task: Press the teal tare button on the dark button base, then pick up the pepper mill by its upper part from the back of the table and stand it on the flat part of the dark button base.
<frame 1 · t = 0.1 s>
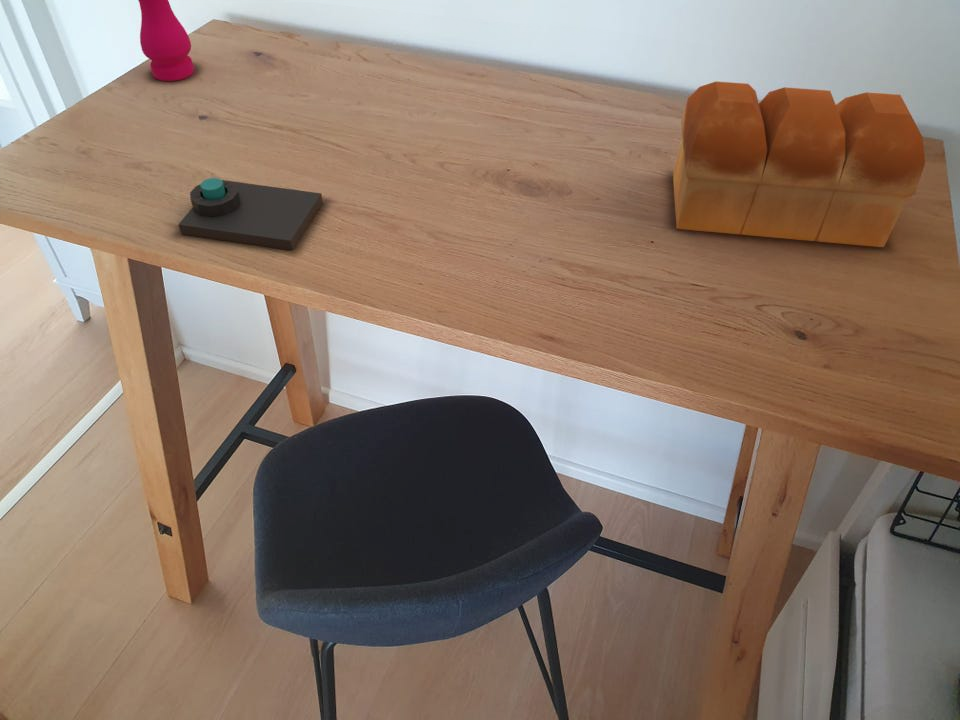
pepper mill: (174, 73, 121), on the table
bread: (772, 211, 96), on the table
dark button base: (254, 218, 93), on the table
tare button: (213, 189, 91), point 3 cm above the table, slide at 0.1 cm
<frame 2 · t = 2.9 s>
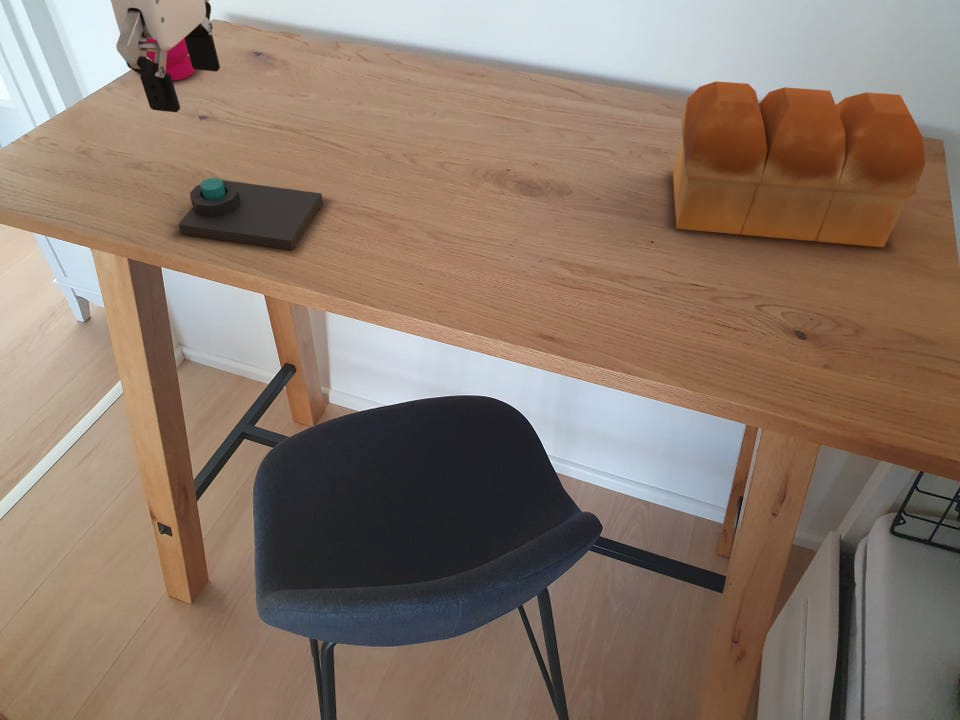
hand: (187, 88, 84), 15 cm above the table, tool pointing down, fingers open, 9 cm apart
nothing on the table moved.
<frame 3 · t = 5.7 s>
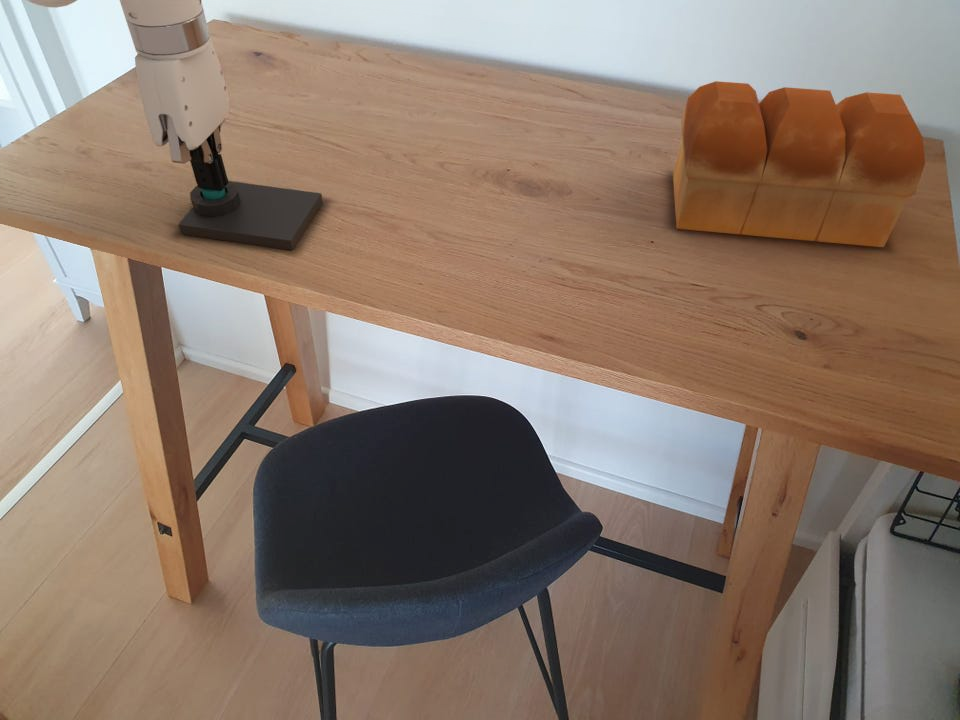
hand: (213, 185, 91), 4 cm above the table, tool pointing down, fingers closed
tare button: (213, 191, 92), point 3 cm above the table, slide at -0.2 cm, touching gripper
everything else where it was.
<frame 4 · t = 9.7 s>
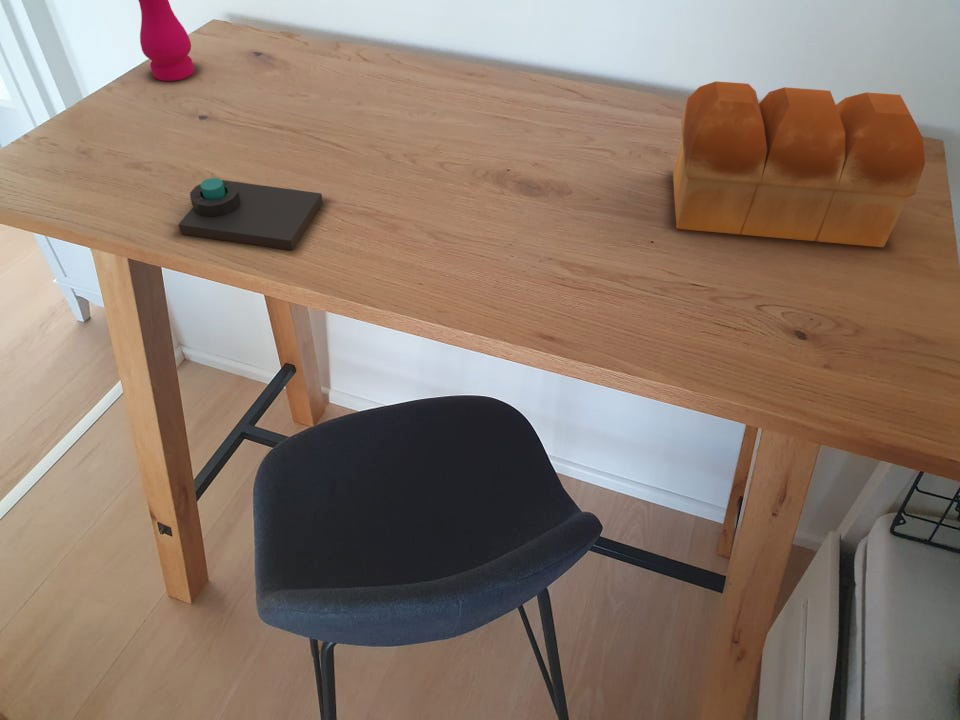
tare button: (213, 189, 91), point 3 cm above the table, slide at 0.1 cm
everything else where it was.
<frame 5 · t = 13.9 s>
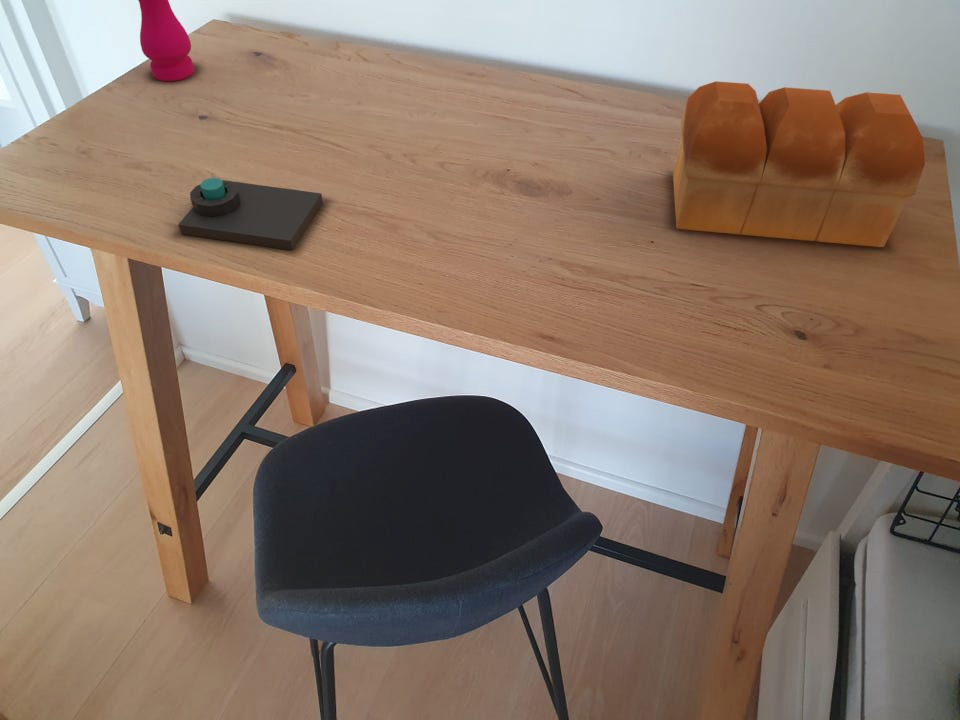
pepper mill: (174, 73, 121), on the table, touching gripper
everything else where it was.
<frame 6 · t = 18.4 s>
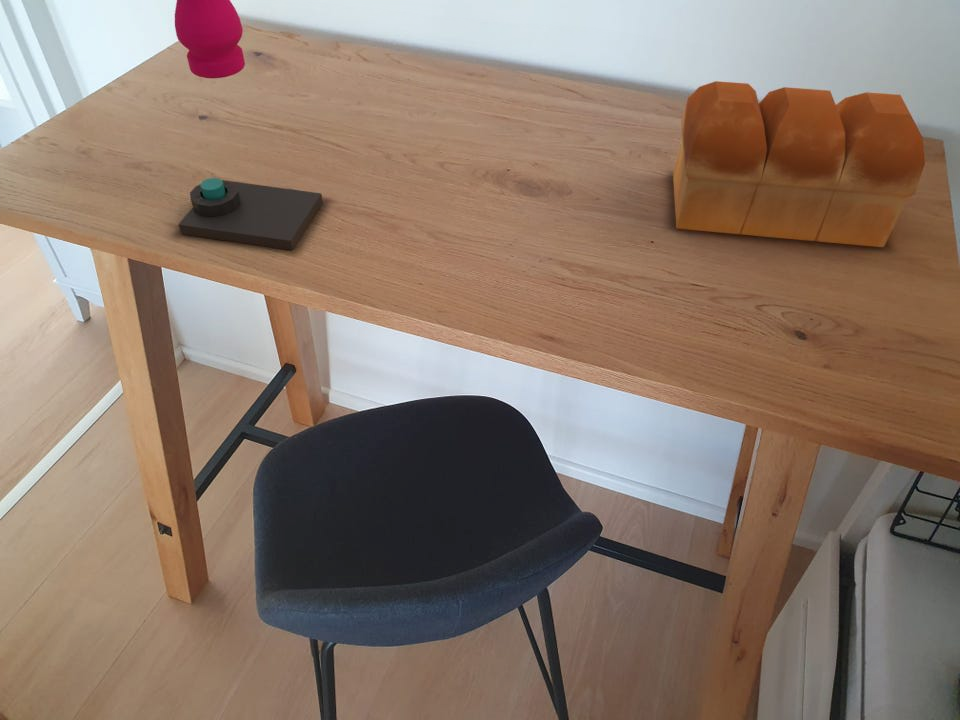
pepper mill: (218, 68, 90), point 14 cm above the table, touching gripper
everything else where it was.
when the fingers open (16 cm above the table, at t = 22.9 s): pepper mill stays where it is, resting on dark button base.
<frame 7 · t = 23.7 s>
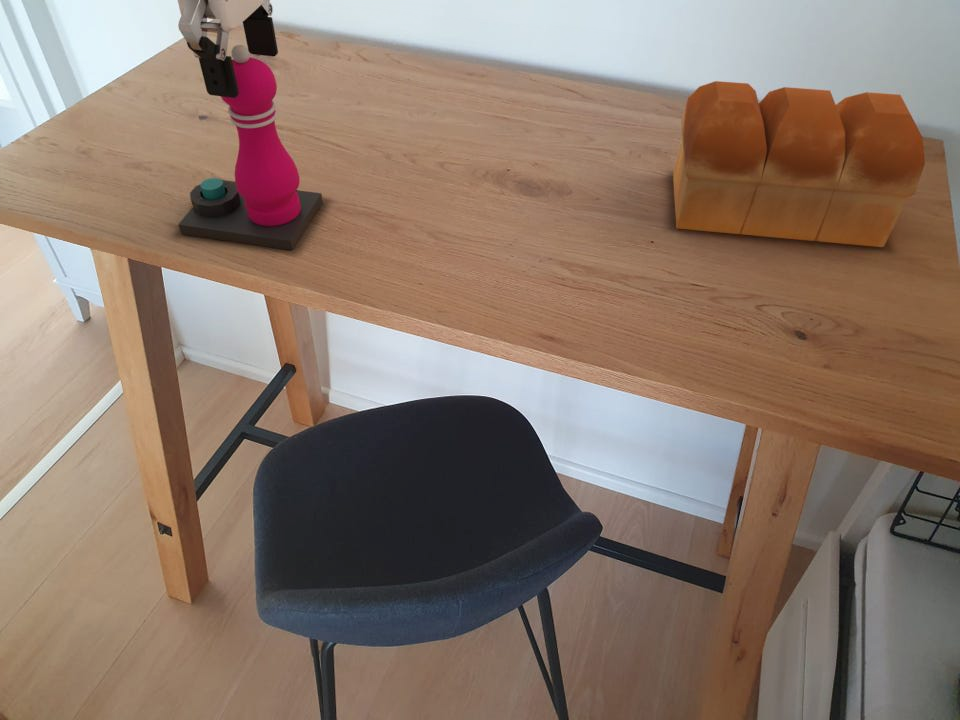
hand: (244, 73, 80), 18 cm above the table, tool pointing down, fingers open, 9 cm apart
pepper mill: (274, 213, 92), point 1 cm above the table, touching dark button base
everything else where it was.
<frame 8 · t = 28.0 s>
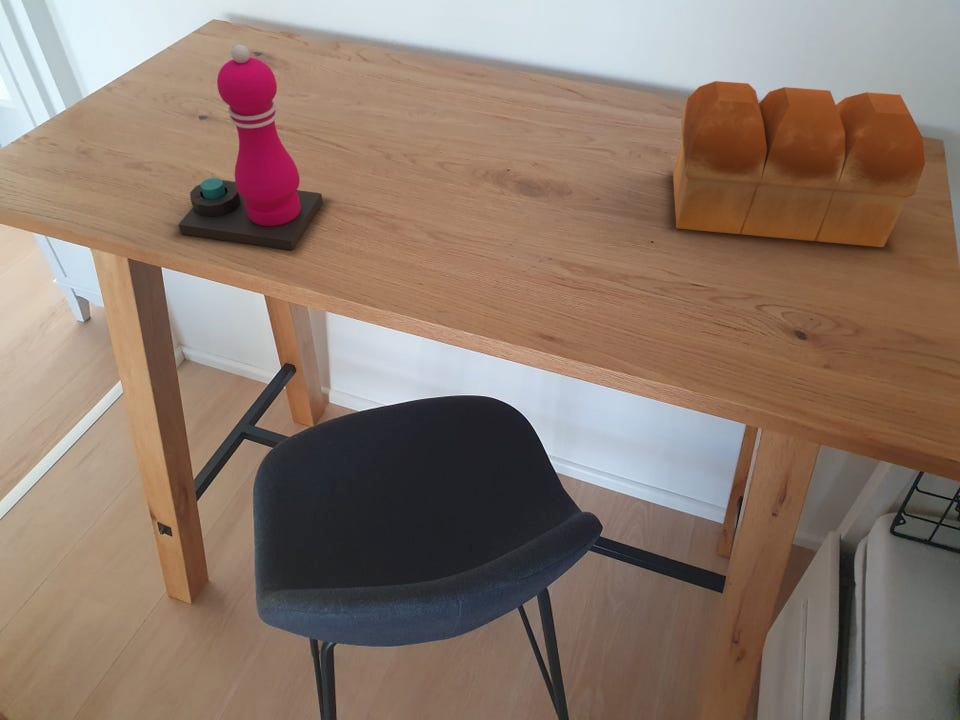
nothing on the table moved.
at the end: tare button pushed in 0.9 cm at the most during the clip, back to where it started at the end; pepper mill inside the target area on the dark button base (0.1 cm from its centre), point 1.2 cm above the dark button base's base; pepper mill touching dark button base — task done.
